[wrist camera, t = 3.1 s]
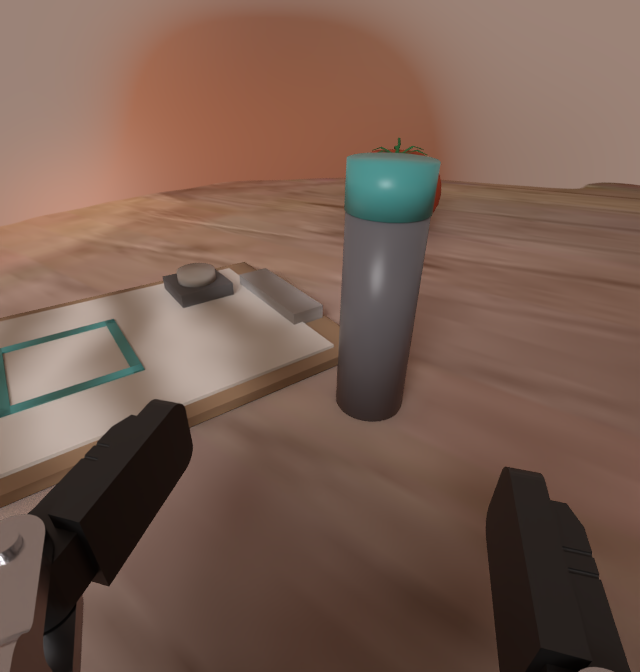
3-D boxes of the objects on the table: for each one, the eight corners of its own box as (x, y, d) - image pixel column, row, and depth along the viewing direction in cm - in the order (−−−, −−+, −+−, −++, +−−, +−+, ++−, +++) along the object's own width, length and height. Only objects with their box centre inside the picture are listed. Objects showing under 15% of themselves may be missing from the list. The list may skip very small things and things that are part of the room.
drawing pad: (245, 268, 39) (242, 240, 37) (367, 352, 27) (370, 317, 26) (-95, 349, 26) (-117, 313, 25) (-138, 566, 15) (-184, 521, 13)
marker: (370, 371, 25) (393, 150, 19) (416, 404, 23) (460, 162, 16) (321, 393, 23) (328, 156, 17) (365, 432, 21) (392, 171, 14)
